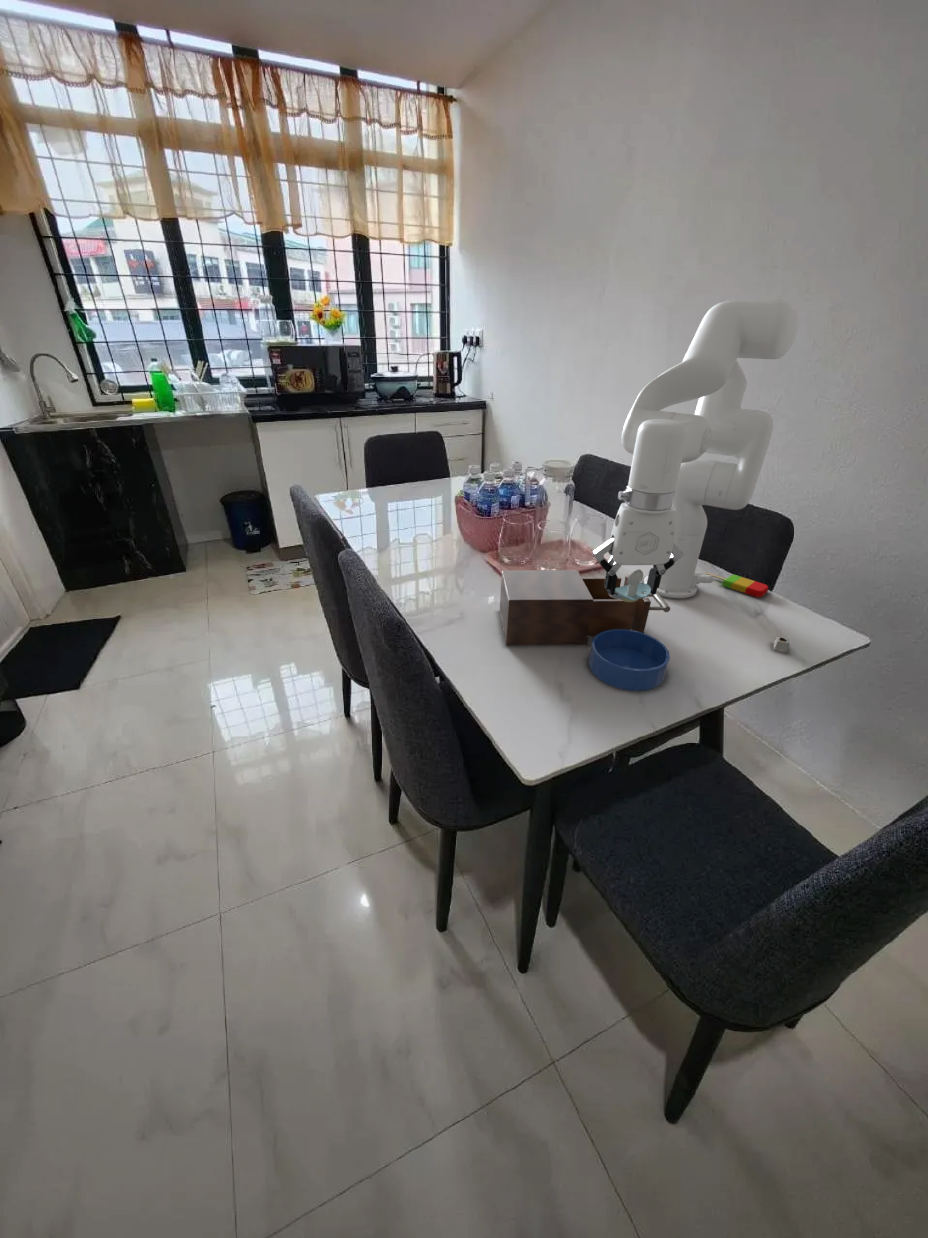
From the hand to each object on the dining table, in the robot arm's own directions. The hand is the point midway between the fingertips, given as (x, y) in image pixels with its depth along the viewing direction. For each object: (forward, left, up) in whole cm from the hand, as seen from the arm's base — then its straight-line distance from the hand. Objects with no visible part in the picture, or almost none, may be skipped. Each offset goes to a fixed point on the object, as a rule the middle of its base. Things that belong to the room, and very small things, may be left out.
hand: (630, 590), depth 94 cm
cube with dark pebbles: (-34, -1, -14) cm, 37 cm away
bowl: (0, +5, -14) cm, 15 cm away
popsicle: (-39, -30, -14) cm, 51 cm away
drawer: (-1, -10, -13) cm, 17 cm away
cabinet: (+14, -10, -14) cm, 22 cm away
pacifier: (0, 0, -1) cm, 2 cm away
